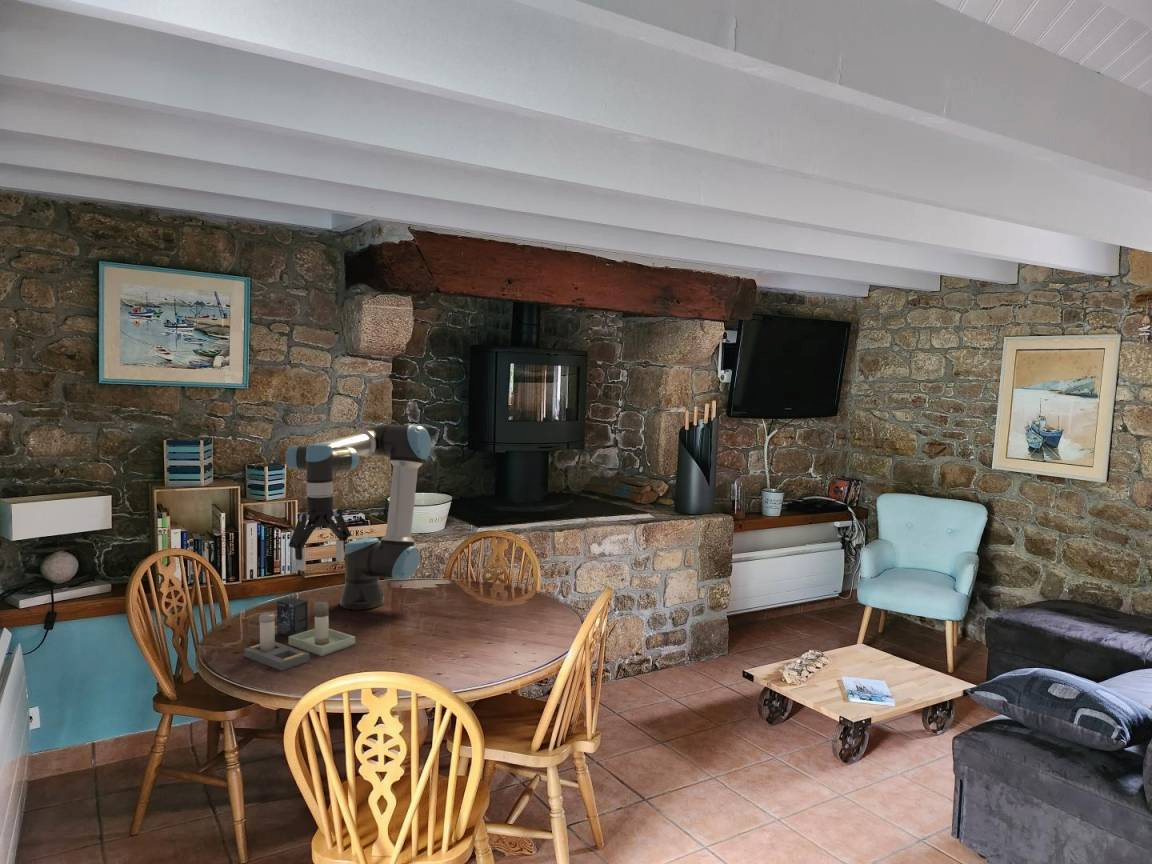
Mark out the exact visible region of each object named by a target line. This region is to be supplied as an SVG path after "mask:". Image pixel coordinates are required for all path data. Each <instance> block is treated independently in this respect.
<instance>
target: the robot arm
mask: <svg viewBox="0 0 1152 864" xmlns="http://www.w3.org/2000/svg"><path fill="white" fill-rule="evenodd" d="M431 452H432V441H431V437H430V434H429V432H428V430H427V429H426V428H425V427H424V426H422V425H421V426H420V425H416V424H415V425H414V424H379V425H375V426H371V427H367V428H364V429H363V428H362V429H360V430H357V431H356V432H355V433H354V434H351V435H347V436H346V435H345V436H342V437H339V438H335V439H329V440H326V441H322V442H317V443H310V444H308V445H291V446H290V447H289V448H288V449H287V451H286V453H285V462H286V464H287V466H288V467H289V468H290V469H292V470H298V471H301V470H303V471H306V495H307V497H306V508H307V514H303V513H299V514H298V516H297V523H296V525H295V528H294V530H293V532H292V533H293V534H291V535H292V536H291V537H290V541H289V543H288V547H289V548H292V549H294V550H295V551H294V554H295V555H294V556H295V560H296V561H297V570H298V571H301V572H305V571H307V569H306V548H304V547H305V545H306V543H307V541H308V540H309V539H310V537H311V535H312V534H313V532H314V531H315V530H316V529H317V528H319V529H320V528H322V527H328V528H329V529H330V531H331V532H332V533H333V534H334V536H335V537H336V538H337V539H336V540H335V561H336V562H341V563H343V562H344V580H345V581H344V586H343V590H342V594H341V596H340V601H339V603H340V604H339V605H340V607H341V608H344V609H346V610H348V609H349V610H368V609H373V608H377V607H380V606H382V605H384V603H385V595H384V593H383V588H382V586H381V584H380V578H384V579H385V578H386V579H392V580H407V579H410V578H411V577H412V576H414V574H415V573H416V572H417V570H418V567H419V565H420V561H421V560H420V559H421V553H420V550H419V548H418V547H417V546H415V542H416V541H415V540H414V538H413V537H412V531H413V529H412V528H413V518H414V510H415V509H414V508H415V499H416V487H417V483H418V482H417V480H418V472H419V471H418V470H419V468H420V467H421V466H423V465H424V460H425V459H427V458H428V457H429V456H430V454H431ZM359 456H361V457H364V458H365V457H370V456H373V457H374V456H376V457H378V456H379V457H387V458H388V457H389V463H391V465H392V475H391V476H392V477H391V485H390V492H389V494H390V495H389V502H388V511H387V520H386V521H387V522H386V531H385V535H383V536H382V537H381V538H380V540H379V538H377V537H363V538H359V539H354V540H351V541H348V542H346V541H347V540H348V539H349V538H350V537H351V535H352V533H351V532H350V529H349V527H348V526H347V523H346V520H345V519H344V516H343V511H342V509H341V508H335V507H334V496H333V494H334V480H333V479H334V474H336V473H342V472H348V471H351V470H354V469H355V468H356V467H357V466H358V464H359V461H360V460H359V459H360V458H359ZM333 517H334V520H335V521H334V520H333V519H332V518H333ZM336 523H337V524H336Z"/></svg>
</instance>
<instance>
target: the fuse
mask: <svg viewBox="0 0 1152 864" xmlns="http://www.w3.org/2000/svg"><path fill="white" fill-rule="evenodd" d="M258 620H259V644H260V651H263V652H267V651H270V650H274V649H275V642H276V640H275V639H276V637H275V636H276V633H275V632H276V630H275V628H276V626H275V624H276V623H275V622H276V613H274V612H263V613H260V614H259V619H258Z"/></svg>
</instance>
